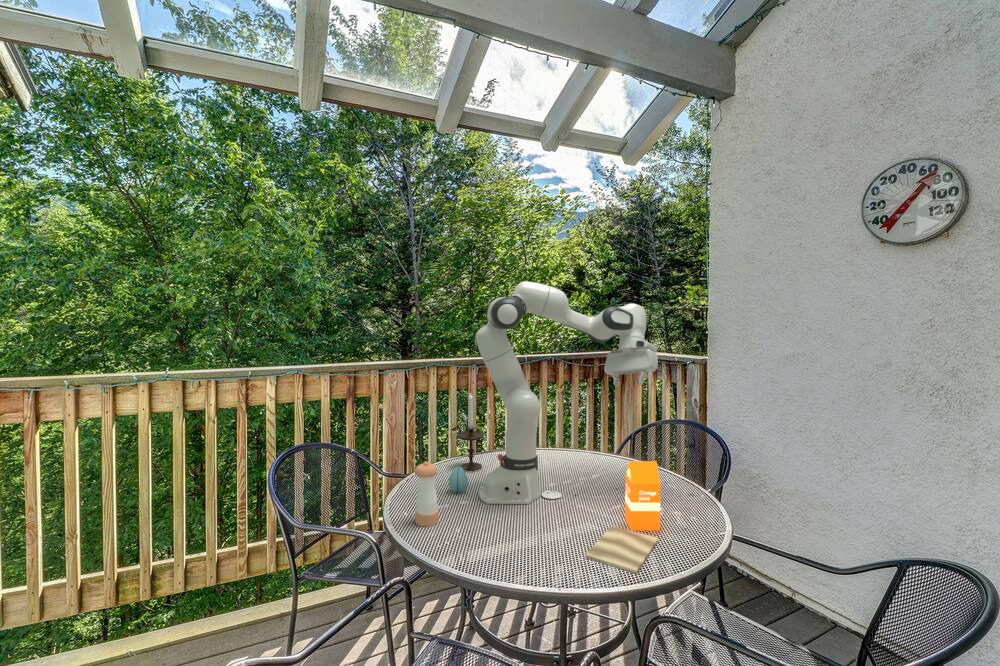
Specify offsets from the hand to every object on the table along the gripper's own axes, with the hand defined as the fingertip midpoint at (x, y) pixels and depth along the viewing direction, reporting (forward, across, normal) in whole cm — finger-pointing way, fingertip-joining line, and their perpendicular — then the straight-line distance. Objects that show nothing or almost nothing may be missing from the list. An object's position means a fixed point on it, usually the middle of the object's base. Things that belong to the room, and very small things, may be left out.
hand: (628, 384), depth 164 cm
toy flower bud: (+45, -52, -25) cm, 73 cm away
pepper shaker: (+56, -38, -45) cm, 81 cm away
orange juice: (+45, +7, +4) cm, 45 cm away
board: (+52, +12, -12) cm, 54 cm away
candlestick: (+36, -67, -11) cm, 77 cm away
